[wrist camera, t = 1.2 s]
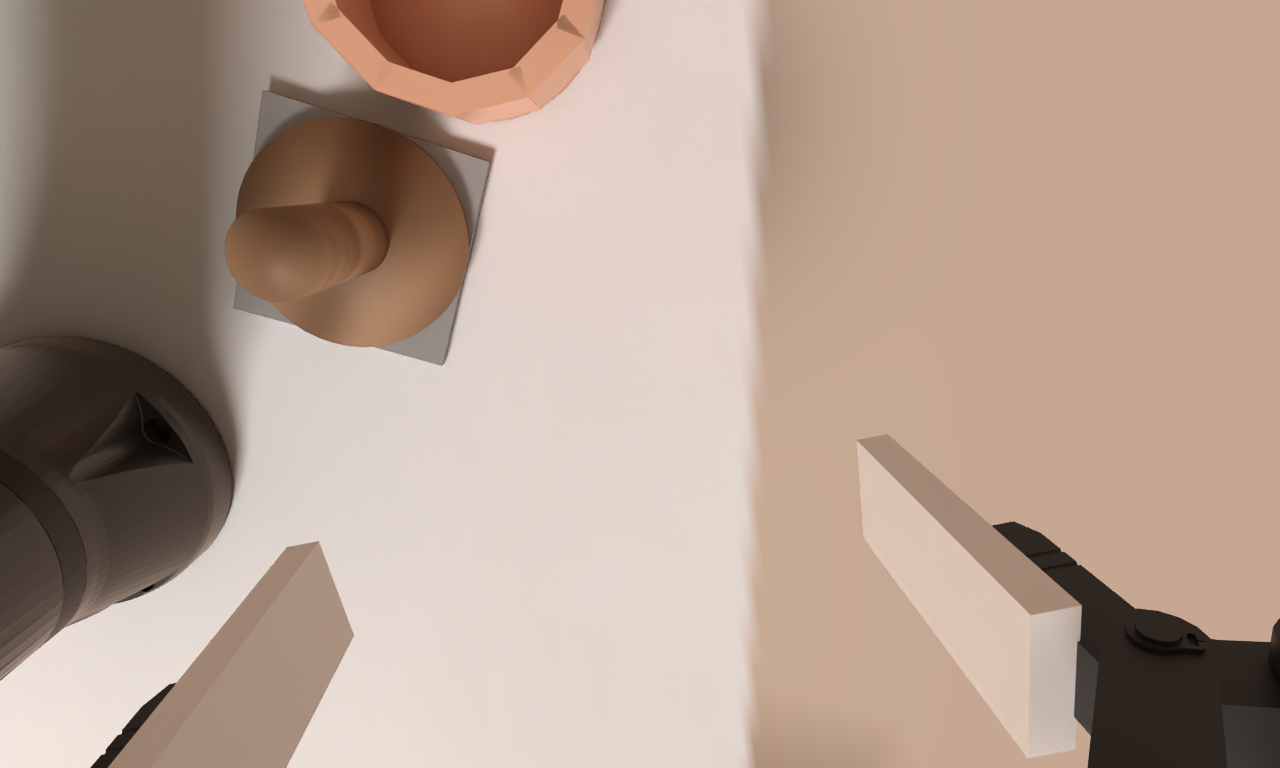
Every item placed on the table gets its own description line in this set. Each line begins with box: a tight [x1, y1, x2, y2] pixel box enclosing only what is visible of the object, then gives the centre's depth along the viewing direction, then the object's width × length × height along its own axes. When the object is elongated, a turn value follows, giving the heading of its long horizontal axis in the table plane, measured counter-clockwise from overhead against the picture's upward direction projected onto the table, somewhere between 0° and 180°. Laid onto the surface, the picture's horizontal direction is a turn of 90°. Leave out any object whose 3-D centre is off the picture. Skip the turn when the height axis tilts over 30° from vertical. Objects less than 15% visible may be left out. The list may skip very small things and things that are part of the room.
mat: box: [234, 90, 491, 366], centre depth 34 cm, size 11×11×1 cm
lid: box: [225, 118, 469, 347], centre depth 29 cm, size 11×11×9 cm
